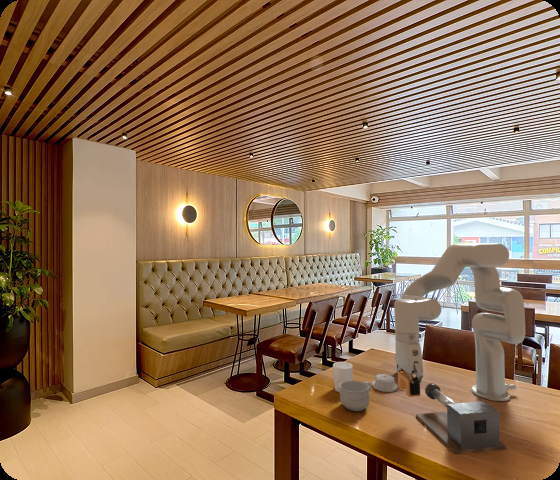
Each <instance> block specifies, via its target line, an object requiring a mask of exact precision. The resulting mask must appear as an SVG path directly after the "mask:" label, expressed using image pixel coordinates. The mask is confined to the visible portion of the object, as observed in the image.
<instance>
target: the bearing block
mask: <svg viewBox="0 0 560 480" xmlns="http://www.w3.org/2000/svg"><path fill="white" fill-rule="evenodd" d="M446 412H447V429H448V438H449V439H450V440H451V441H452V442H453V443H454V444H455V445H456V446H458V447H459V448H460V449H461V450H466V449H477V448H488V447H499V446H500V442H501V438H500V437H501V433H500V432H501V431H500V430H501V429H500V411H499V409H497V408H495V407H494V406H492V405H490V404H489V403H488V402H485V401H484V400H482V401H468V402H456V403H451V404H447V407H446Z"/></svg>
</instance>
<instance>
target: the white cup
mask: <svg viewBox="0 0 560 480" xmlns="http://www.w3.org/2000/svg"><path fill="white" fill-rule="evenodd" d="M332 369H333V380H334V381H333V382H334V390H335V391H336V392H338V393H340V388H339V384H340V383H342V382H344V381H350V380H353V364H352V363H350V362H347V361H337V362H334V363H333V364H332Z"/></svg>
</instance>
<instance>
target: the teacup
mask: <svg viewBox="0 0 560 480" xmlns="http://www.w3.org/2000/svg"><path fill="white" fill-rule="evenodd" d="M339 388H340V392H339V399H340V402H341V405H343V407H345V408H346V409H347V410H348V411H351V412H359V411H364V410H365V408H368V406H369V404H370V392H371V389H372V383H371V382H370V381H367V380H365V381H361V380H356V379H355V380H353V379H352V380H350V381H344V382H342V383H340V384H339Z"/></svg>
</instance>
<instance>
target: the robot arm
mask: <svg viewBox="0 0 560 480" xmlns="http://www.w3.org/2000/svg"><path fill="white" fill-rule="evenodd" d="M509 251H510V250H509V249H508V248H507V246H505V244H502V243H494V242H493V243H453V244H451V245H449V246H448V247H447V248H446V249H445V251H444V252H443V254H442V255H441V257H440V258H439V260H438V261H437V263H436V264H435V265H434V267H433V268H432V269H431V271H429V272H426V274H423V275H422V276H421V277H419V278H417V279H416V280H415V279H414V281H413V282H411V283H410V284H409V285H408V286H407V288H406V289H405V290H404V292H403V293H402V295H401V297H400V298H398V299H396V300H394V303H393V307H394V311H393V312H394V337H395V362H396V363H397V364H396V370H397V373H398V372H399V371H406V372H407V373H408V374H409V376H410V380H411V382H410V394H411V395H420V396H421V381H422V379H423V377H424V362H423V353H422V348H421V343H420V325H419V323H420V321H434V320H436V319H438V317H440V316H441V313H442V306H441V304H440V302H439V301H438V300H436V299H434V298H433V297H432V298H431V297H427V296H426V297H425V295H427V294H430V293H432V292H435V291H440V290H444V289H446V288H450V287H453V285H455V283H456V282H457V280H458V278H459V276H460V275H461V274H462V272H463V271H464V269H465V268H469V269H470V270H471V272H472V274H473V281H474V298H475V304H476V306H477V307H478V308H479V309H482V310H486V311H490V312H495V313H490V312H480V313H479V312H478V313H476V314H475V315H474V316H473V317H472V320H471V326H472V327H471V328H472V331H473V335H474V337H473V338H474V343H475V385H473V386H472V387H471V391H472V393H473V394H474V395H476V396H477V397H479V398H483V399H485V400H489V401H494V402H507V401H509V400H510V399H511V394H510V393H509V392H508V391H509V390H510V391H511V390H512V391H513V390H517V386H516V384H514V383H509V384H508V382H506V379H505V378H506V375H505V373H506V372H505V350H504V346H503V345H502V343H501V342H503V343H508V344H512V345H517V344H520V343H522V342H523V341H524V339H525V337H526V315H525V314H526V312H525V310H526V309H525V301H524V296H522V293H520V291H519V290H516V289H515V288H510V287H502V286H501V283H500V273H499V270H498V269H497V268H500V267H502V266H504V265H506V264H507V263H508V261H509V259H510V252H509ZM496 313H501V314H502V313H503V315H501V314H496ZM397 367H398V369H397ZM412 371H415V373H412ZM413 375H415V376H416V377H415V378H414V379H413Z"/></svg>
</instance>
